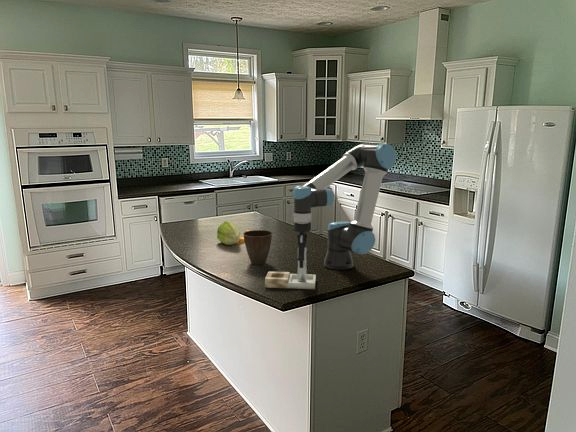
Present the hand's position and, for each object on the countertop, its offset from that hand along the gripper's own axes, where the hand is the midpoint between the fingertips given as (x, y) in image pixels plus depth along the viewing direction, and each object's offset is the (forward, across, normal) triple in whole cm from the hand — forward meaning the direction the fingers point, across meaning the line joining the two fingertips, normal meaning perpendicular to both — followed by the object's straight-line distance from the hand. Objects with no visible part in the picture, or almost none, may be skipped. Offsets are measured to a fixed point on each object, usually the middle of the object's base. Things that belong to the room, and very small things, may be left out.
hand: (302, 270), depth 192 cm
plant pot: (+6, -29, -25) cm, 39 cm away
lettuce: (+6, -61, -47) cm, 77 cm away
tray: (+6, 0, 0) cm, 6 cm away
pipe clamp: (+7, -70, -42) cm, 81 cm away
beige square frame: (+6, +1, -11) cm, 13 cm away
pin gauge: (+5, 0, 0) cm, 5 cm away
